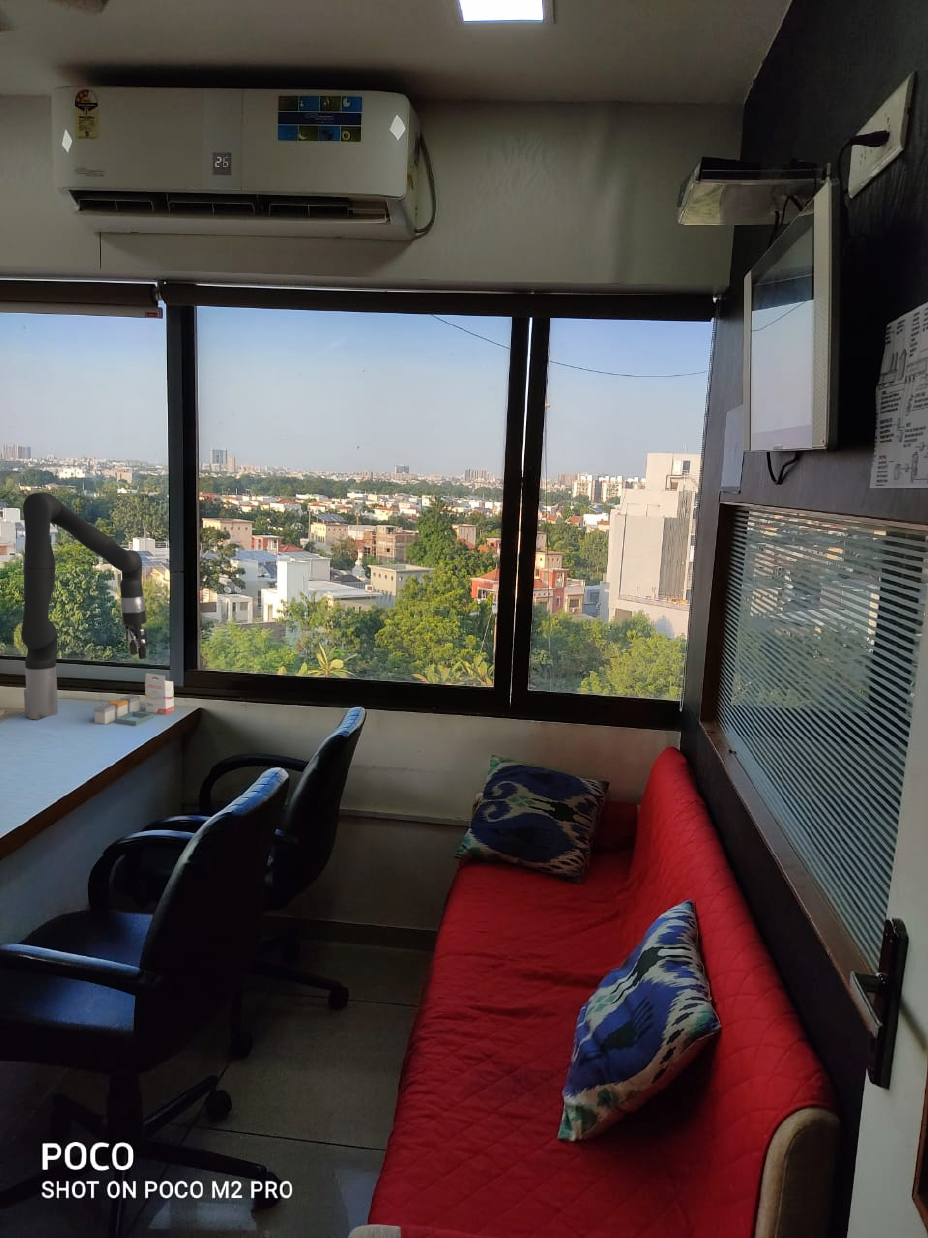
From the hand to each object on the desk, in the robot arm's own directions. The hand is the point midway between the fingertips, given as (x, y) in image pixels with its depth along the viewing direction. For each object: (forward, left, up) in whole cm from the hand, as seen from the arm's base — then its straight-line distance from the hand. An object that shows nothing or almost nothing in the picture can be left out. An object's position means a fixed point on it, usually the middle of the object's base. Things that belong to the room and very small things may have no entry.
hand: (138, 656), depth 284 cm
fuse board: (-5, -5, -21) cm, 22 cm away
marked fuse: (-5, -5, -20) cm, 21 cm away
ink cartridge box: (+4, +5, -21) cm, 22 cm away
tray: (+3, -7, -21) cm, 23 cm away
